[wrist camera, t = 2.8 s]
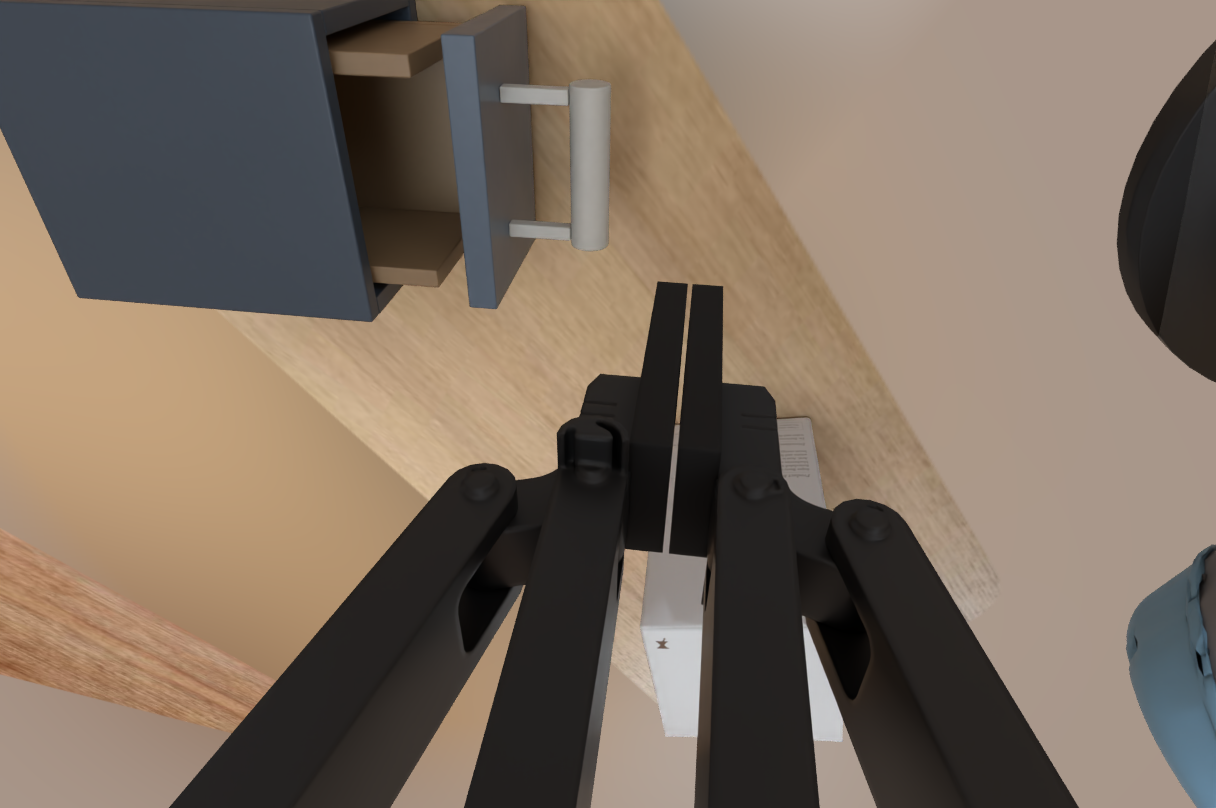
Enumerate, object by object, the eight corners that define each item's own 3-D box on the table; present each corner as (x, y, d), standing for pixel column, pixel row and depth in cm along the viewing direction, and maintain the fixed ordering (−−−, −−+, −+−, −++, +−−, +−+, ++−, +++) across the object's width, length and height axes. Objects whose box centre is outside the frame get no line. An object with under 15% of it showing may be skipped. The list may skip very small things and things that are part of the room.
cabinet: (413, -17, 31) (310, 13, 24) (444, 235, 38) (372, 322, 30) (125, -27, 33) (-61, -1, 25) (204, 218, 40) (77, 298, 32)
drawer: (626, 9, 30) (600, 40, 24) (620, 243, 36) (598, 317, 30) (248, -5, 32) (130, 21, 25) (303, 221, 38) (218, 287, 32)
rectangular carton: (675, 529, 48) (658, 741, 36) (659, 422, 43) (632, 627, 31) (815, 526, 47) (846, 748, 34) (815, 414, 42) (850, 628, 29)
